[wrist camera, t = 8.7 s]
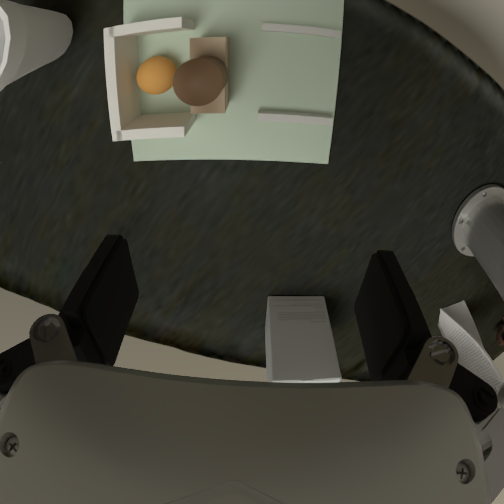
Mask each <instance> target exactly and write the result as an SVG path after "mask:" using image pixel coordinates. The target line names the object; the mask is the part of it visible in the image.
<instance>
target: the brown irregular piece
mask: <svg viewBox="0 0 504 504" xmlns="http://www.w3.org/2000/svg"><path fill="white" fill-rule="evenodd" d="M503 320H504V316H503ZM496 339H497V343H498V344H499V345H500V346H504V325H503V324H500V325H499V330H498V331H497V337H496Z"/></svg>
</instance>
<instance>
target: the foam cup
mask: <svg viewBox="0 0 504 504" xmlns="http://www.w3.org/2000/svg"><path fill="white" fill-rule="evenodd" d="M72 35H73V28H72V22H71V20H70V19H69V18H68V17H67V15H65V14H62V13H59V12H55V11H51V10H46V9H41V8H36V7H31V6H26V5H20V4H16V2H11V1H6V0H0V91H1V90H2V89H3V88H4V87H5V86H6V85H8V84H10V83H11V82H13V81H15V80H17V79H19V78H20V77H22V76H24V75H26V74H28V73H30V72H32V71H34V70H35V69H37V68H39V67H41V66H43V65H46V64H48V63H50V62H52V61H54V60H56V59H57V58H58V57H60V56H61V55H62V54H64V53H65V51H66V50H67V48H68V47H69V45H70V43H71V39H72Z"/></svg>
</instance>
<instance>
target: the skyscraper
mask: <svg viewBox="0 0 504 504" xmlns="http://www.w3.org/2000/svg"><path fill="white" fill-rule="evenodd" d="M440 310H441V311H440V317H439V323H438V324H437V325H438V327H439V329H440V331H441V333H442V335H443V337H444V338H446V339H448V340H449V341H450V342H452V343H453V345H454V346H455V347H456V349H457V351H458V356H459V358H458V363H459V364H460V365H462V366H463V367H465V368H466V369H468V370H469V371H470V372H472V373H473V374H475V375H476V376H478V377H479V378H481V379H482V380H484V381H485V382H486V383H488V384H489V385H490V386H491V387H493V389H494V390H495V392H496V394H497V395H498V392H499V389H500V387H501V386H502V384H503V383H504V382H503V379H502V377H501V375H500V373H499V371H498V369H497V367H496V366H495V364H494V362H493V361H492V359H491V358H490V356H489V355H488V354H487V352H486V351H485V350H484V347H483V344H482V342H481V339H480V336H479V333H478V331H477V328H476V326H475V323H474V321H473V319H472V316H471V314H470V312H469V310H468V308H467V305H466V303H465V301H464V300H463V301H462V302H459V303H456V304H454V305H451V306H448V307H445V308H441V309H440Z"/></svg>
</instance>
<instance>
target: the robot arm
mask: <svg viewBox="0 0 504 504" xmlns="http://www.w3.org/2000/svg"><path fill="white" fill-rule="evenodd" d="M452 240H453V243H454V245H455V246H456V248H457V249H458V250H459V252H461V253H462V254H464V255H467V256H475V258H476V259H477V261H478V262H479V263H480V265H481V266H482V268H483V269H484V271H485V272H486V274H487V275H488V277H489V278H490V280H491V281H492V283H493V284H494V286H495V287H496V289H497V290H498V292H499V294H500V295H501V297H502V298H503V300H504V188H503V187H501V186H499V185H495V184H489V185H485V186H482V187H480V188H478V189H476V190H475V191H474V192H472V193H471V194H470V195H469V196H468V197H467V198H466V199H465V200H464V202H463V203H462V204H461V206H460V207H459V209H458V211H457V213H456V215H455V218H454V221H453V225H452ZM138 296H139V291H138V286H137V282H136V278H135V274H134V270H133V266H132V261H131V257H130V252H129V248H128V243H127V240H126V239H123V237H122V236H121V235H109V234H108V235H106V237H105V238H104V240H103V241H102V243H101V244H100V246H99V248H98V249H97V251H96V252H95V254H94V256H93V257H92V259H91V260H90V262H89V264H88V265H87V267H86V268H85V269H84V271H83V272H82V274H81V276H80V277H79V279H78V281H77V283H76V284H75V286H74V288H73V290H72V291H71V293H70V295H69V297H68V298H67V300H66V302H65V304H64V306H63V308H62V309H61V311H60V313H59V315H56V314H46V315H43V316H41V317H40V318H38V319H37V320H36V321H35V322H34V323H33V325H32V326H31V328H30V332H29V334H30V338H29V339H27V340H25V341H23V342H21V343H19V344H17V345H16V346H14V347H12V348H10V349H8V350H6V351H4V352H2V353H1V354H0V504H491V503H492V501H494V499H495V498H496V497H497V496H498V494H499V493H500V492H501V490H502V489H503V488H504V383H503V384H502V386H501V387H500V389H499V392H498V395H497V394H496V392H495V390H494V389H493V387H491V386H490V385H489V384H488V383H486V382H485V381H484V380H482V379H481V378H479V377H478V376H476V375H475V374H473V373H472V372H470V371H469V370H468V369H466V368H465V367H463V366H462V365H460V364H459V363H458V358H459V356H458V351H457V349H456V347H455V346H454V345H453V343H452V342H450V341H449V340H448V339H446V338H443V337H439V336H435V337H432V336H431V334H430V331H429V329H428V326H427V324H426V321H425V319H424V316H423V314H422V312H421V309H420V307H419V305H418V302H417V300H416V298H415V296H414V293H413V291H412V289H411V287H410V286H409V284H408V282H407V280H406V278H405V275H404V273H403V271H402V269H401V267H400V265H399V263H398V261H397V259H396V257H395V255H394V253H393V251H385V250H378V251H377V253H376V254H373V255H372V257H371V260H370V263H369V266H368V268H367V271H366V274H365V277H364V280H363V283H362V285H361V288H360V291H359V294H358V296H357V299H356V302H355V306H354V310H355V315H356V319H357V323H358V327H359V331H360V335H361V339H362V343H363V348H364V352H365V356H366V361H367V365H368V370H369V375H370V379H371V381H367V382H334V383H284V382H254V381H236V380H221V379H210V378H199V377H189V376H179V375H170V374H163V373H155V372H148V371H141V370H134V369H127V368H121V367H114V366H113V365H114V363H115V361H116V358H117V355H118V352H119V349H120V346H121V343H122V341H123V338H124V335H125V332H126V329H127V327H128V324H129V321H130V318H131V316H132V313H133V310H134V308H135V305H136V302H137V300H138Z"/></svg>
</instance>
